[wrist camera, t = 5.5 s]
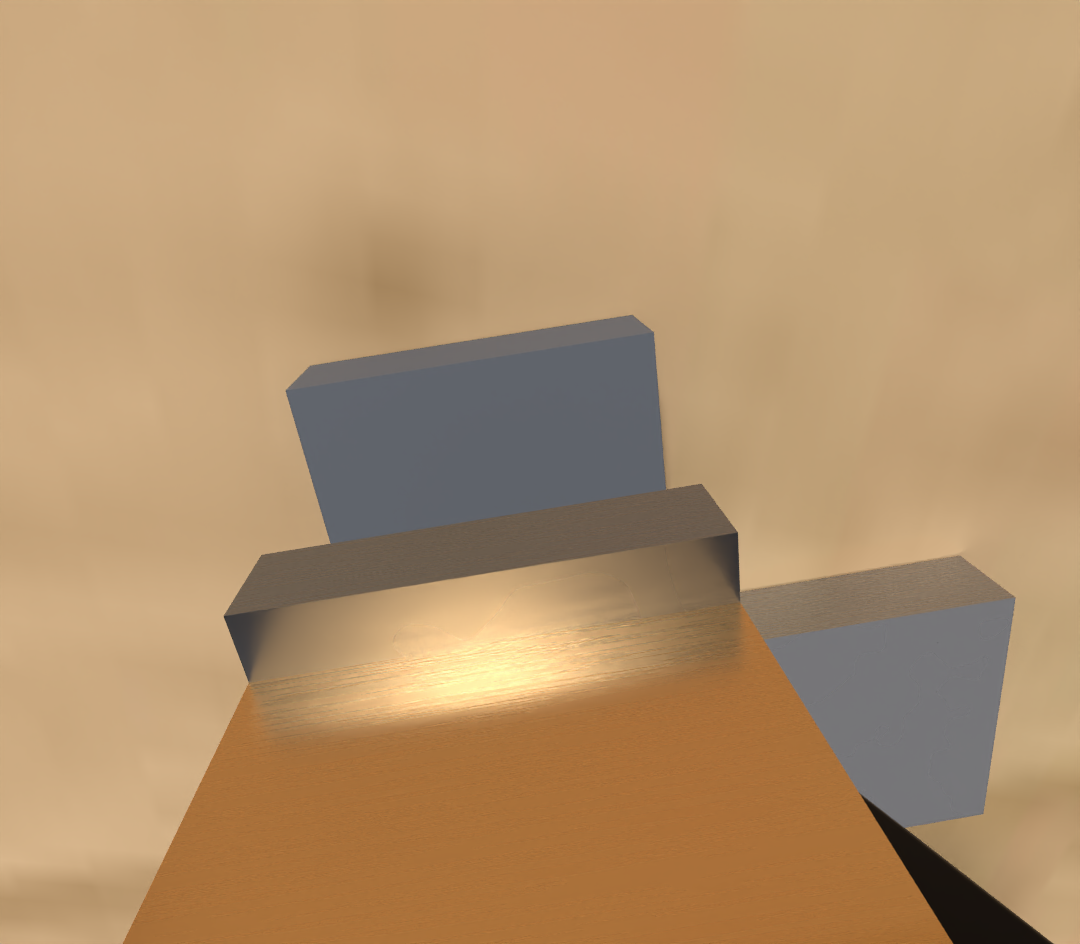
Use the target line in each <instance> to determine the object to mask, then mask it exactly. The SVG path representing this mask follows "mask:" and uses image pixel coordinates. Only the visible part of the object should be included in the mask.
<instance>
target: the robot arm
mask: <svg viewBox="0 0 1080 944" xmlns="http://www.w3.org/2000/svg"><path fill="white" fill-rule="evenodd" d="M859 794H860V793H859ZM860 795H861V797H862V798H863V800H864V802H865V803H866V805H867V806H868V808H869V810H870V811H871V813H872V814H873V816H874V818H875V819H876V821H877V822H878V824H879V826H880V827H881V829H882V830H883V832H884V834H885V835H886V837H887V838H888V840H889V842H890V843H891V845H892V847H893V848H894V850H895V851H896V853H897V855H898V856H899V858H900V859H901V861H902V863H903V864H904V866H905V867H906V869H907V871H908V872H909V874H910V875H911V877H912V879H913V880H914V882H915V883H916V885H917V887H918V888H919V890H920V891H921V893H922V895H923V896H924V898H925V899H926V901H927V903H928V904H929V906H930V907H931V909H932V911H933V912H934V914H935V916H936V917H937V919H938V920H939V922H940V924H941V925H942V927H943V928H944V930H945V932H946V933H947V935H948V936H949V938H950V940H951V941H952V943H953V944H1053V943H1052V942H1051V941H1049V940H1048V939H1047V938H1045V937H1044V936H1043V935H1042V934H1040V933H1039V932H1038V931H1036V930H1035V929H1034V928H1033V927H1031V926H1030V925H1029V924H1027V923H1026V922H1025V921H1024V920H1022V919H1021V918H1020V917H1018V916H1017V915H1016V914H1015V913H1013V912H1012V911H1011V910H1009V909H1008V908H1007V907H1006V906H1004V905H1003V904H1002V903H1000V902H999V901H998V900H997V899H995V898H994V897H993V896H991V895H990V894H989V893H988V892H986V891H985V890H984V889H982V888H981V887H980V886H979V885H977V884H976V883H975V882H973V881H972V880H971V879H970V878H968V877H967V876H966V875H964V874H963V873H962V872H961V871H959V870H958V869H957V868H955V867H954V866H953V865H952V864H950V863H949V862H948V861H946V860H945V859H944V858H943V857H941V856H940V855H939V854H937V853H936V852H935V851H934V850H932V849H931V848H930V847H928V846H927V845H926V844H925V843H923V842H922V841H921V840H919V839H918V838H917V837H916V836H914V835H913V834H912V833H910V832H909V831H908V830H907V829H905V828H904V827H903V826H901V825H900V824H899V823H898V822H896V821H895V820H894V819H892V818H891V817H890V816H889V815H887V814H886V813H885V812H883V811H882V810H881V809H880V808H878V807H877V806H876V805H874V804H873V803H872V802H871V801H869V800H868V799H867V798H865V797H864V796H863V795H862V794H860Z"/></svg>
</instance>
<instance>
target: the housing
mask: <svg viewBox="0 0 1080 944" xmlns="http://www.w3.org/2000/svg"><path fill="white" fill-rule="evenodd" d="M224 618H225V621H226V624H227V626H228V629H229V632H230V634H231V637H232V639H233V642H234V645H235V647H236V650H237V652H238V655H239V658H240V660H241V663H242V665H243V668H244V671H245V673H246V676H247V679H248V681H249V684H248V686H247V688H246V690H245V692H244V694H243V696H242V698H241V700H240V702H239V705H238V707H237V709H236V711H235V713H234V715H233V717H232V719H231V721H230V723H229V725H228V727H227V729H226V731H225V734H224V736H223V738H222V740H221V742H220V744H219V746H218V748H217V750H216V752H215V754H214V756H213V758H212V760H211V762H210V765H209V767H208V769H207V771H206V773H205V775H204V777H203V779H202V781H201V783H200V785H199V787H198V789H197V791H196V793H195V796H194V798H193V800H192V802H191V804H190V806H189V808H188V810H187V812H186V814H185V816H184V818H183V820H182V822H181V824H180V827H179V829H178V831H177V833H176V835H175V837H174V839H173V841H172V843H171V845H170V847H169V849H168V851H167V853H166V855H165V858H164V860H163V862H162V864H161V866H160V868H159V870H158V872H157V874H156V876H155V878H154V880H153V882H152V884H151V886H150V889H149V891H148V893H147V895H146V897H145V899H144V901H143V903H142V905H141V907H140V909H139V911H138V913H137V915H136V918H135V920H134V922H133V924H132V926H131V928H130V930H129V932H128V934H127V936H126V938H125V940H124V942H123V944H953V943H952V941H951V940H950V938H949V936H948V935H947V933H946V932H945V930H944V928H943V927H942V925H941V924H940V922H939V920H938V919H937V917H936V916H935V914H934V912H933V911H932V909H931V907H930V906H929V904H928V903H927V901H926V899H925V898H924V896H923V895H922V893H921V891H920V890H919V888H918V887H917V885H916V883H915V882H914V880H913V879H912V877H911V875H910V874H909V872H908V871H907V869H906V867H905V866H904V864H903V863H902V861H901V859H900V858H899V856H898V855H897V853H896V851H895V850H894V848H893V847H892V845H891V843H890V842H889V840H888V838H887V837H886V835H885V834H884V832H883V830H882V829H881V827H880V826H879V824H878V822H877V821H876V819H875V818H874V816H873V814H872V813H871V811H870V810H869V808H868V806H867V805H866V803H865V802H864V800H863V798H862V797H861V795H860V794H859V792H858V790H857V789H856V787H855V786H854V784H853V782H852V781H851V779H850V777H849V776H848V774H847V773H846V771H845V769H844V768H843V766H842V765H841V763H840V761H839V760H838V758H837V757H836V755H835V753H834V752H833V750H832V749H831V747H830V745H829V744H828V742H827V741H826V739H825V737H824V736H823V734H822V733H821V731H820V729H819V728H818V726H817V725H816V723H815V721H814V720H813V718H812V717H811V715H810V713H809V712H808V710H807V708H806V707H805V705H804V704H803V702H802V700H801V699H800V697H799V696H798V694H797V692H796V691H795V689H794V688H793V686H792V684H791V683H790V681H789V680H788V678H787V676H786V675H785V673H784V672H783V670H782V668H781V667H780V665H779V664H778V662H777V660H776V659H775V657H774V656H773V654H772V652H771V651H770V649H769V647H768V646H767V644H766V643H765V641H764V639H763V638H762V636H761V635H760V633H759V631H758V630H757V628H756V627H755V625H754V623H753V622H752V620H751V619H750V617H749V615H748V614H747V612H746V611H745V609H744V607H743V606H742V604H741V603H740V581H739V553H738V532H737V531H736V529H735V528H734V527H733V525H732V524H731V523H730V521H729V520H728V519H727V517H726V516H725V515H724V513H723V512H722V511H721V509H720V508H719V507H718V505H717V504H716V503H715V501H714V500H713V499H712V497H711V496H710V495H709V493H708V492H707V490H706V489H705V488H704V486H703V485H702V484H698V485H691V486H685V487H679V488H673V489H667V490H660V491H654V492H648V493H642V494H636V495H630V496H623V497H617V498H611V499H605V500H599V501H592V502H586V503H580V504H574V505H568V506H561V507H555V508H549V509H543V510H537V511H530V512H524V513H518V514H512V515H506V516H500V517H493V518H487V519H481V520H475V521H469V522H462V523H456V524H450V525H444V526H438V527H431V528H425V529H419V530H413V531H407V532H400V533H394V534H388V535H382V536H376V537H369V538H363V539H357V540H351V541H345V542H339V543H332V544H326V545H320V546H314V547H308V548H301V549H295V550H289V551H283V552H277V553H270V554H264V555H261V557H260V558H259V560H258V562H257V563H256V565H255V566H254V568H253V570H252V571H251V573H250V574H249V576H248V578H247V579H246V581H245V583H244V584H243V586H242V587H241V589H240V591H239V592H238V594H237V595H236V597H235V599H234V600H233V602H232V603H231V605H230V607H229V608H228V610H227V612H226V613H225V615H224Z"/></svg>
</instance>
